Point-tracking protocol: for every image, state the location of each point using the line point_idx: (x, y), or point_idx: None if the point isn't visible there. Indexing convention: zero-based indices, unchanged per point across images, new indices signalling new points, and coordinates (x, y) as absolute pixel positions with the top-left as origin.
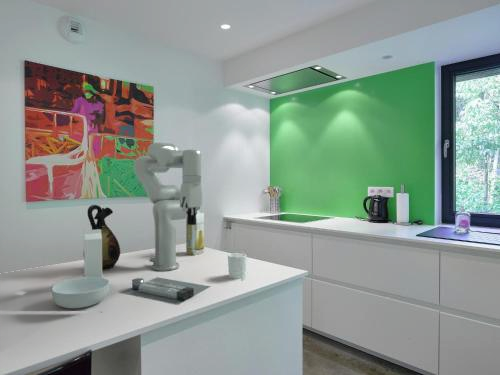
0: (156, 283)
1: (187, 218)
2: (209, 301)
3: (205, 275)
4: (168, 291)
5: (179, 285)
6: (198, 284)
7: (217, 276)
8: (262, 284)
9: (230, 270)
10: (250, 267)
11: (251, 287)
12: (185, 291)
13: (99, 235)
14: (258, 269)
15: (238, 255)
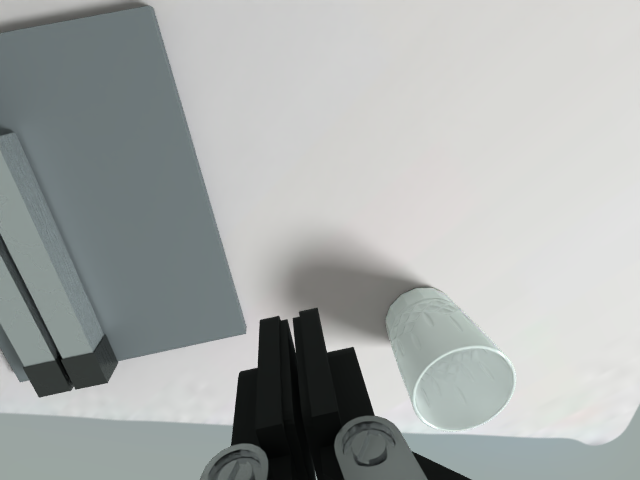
0: (3, 211)
1: (257, 377)
2: (151, 404)
3: (378, 176)
4: (6, 327)
5: (155, 225)
6: (227, 280)
7: (397, 234)
8: (407, 421)
9: (395, 338)
10: (600, 259)
11: None
12: (56, 388)
13: None
14: (582, 305)
15: (501, 359)
